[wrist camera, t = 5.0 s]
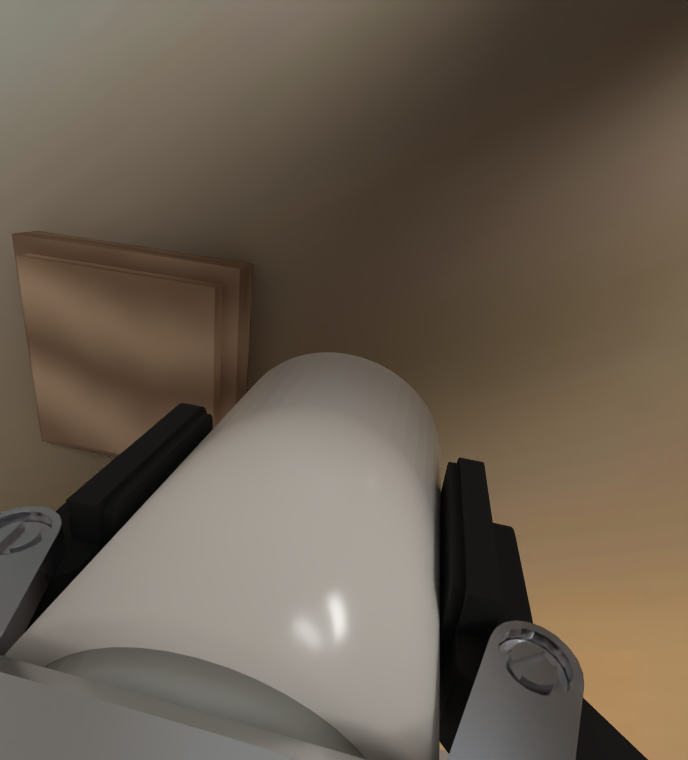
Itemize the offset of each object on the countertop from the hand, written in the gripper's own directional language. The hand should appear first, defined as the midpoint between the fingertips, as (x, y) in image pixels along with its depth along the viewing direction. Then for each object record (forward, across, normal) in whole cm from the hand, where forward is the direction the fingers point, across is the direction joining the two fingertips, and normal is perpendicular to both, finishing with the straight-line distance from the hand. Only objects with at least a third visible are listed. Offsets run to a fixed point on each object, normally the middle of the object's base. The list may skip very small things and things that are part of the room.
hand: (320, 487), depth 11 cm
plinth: (+18, +16, +6) cm, 24 cm away
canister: (+2, 0, 0) cm, 2 cm away
